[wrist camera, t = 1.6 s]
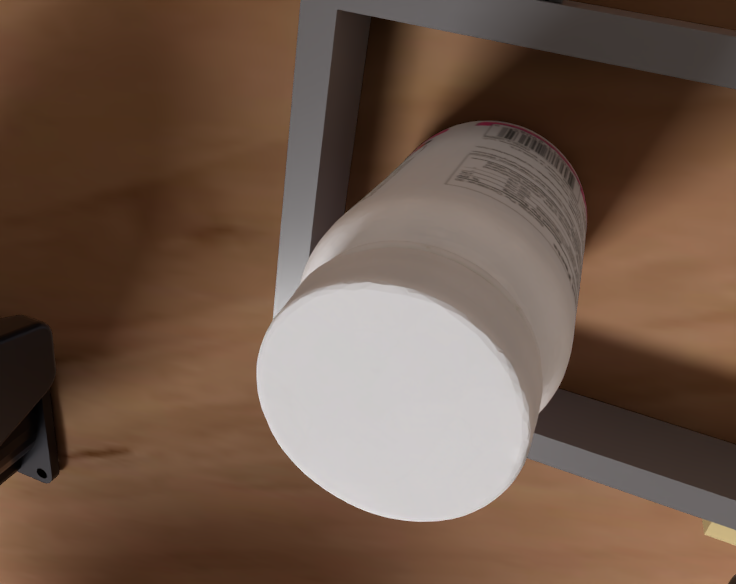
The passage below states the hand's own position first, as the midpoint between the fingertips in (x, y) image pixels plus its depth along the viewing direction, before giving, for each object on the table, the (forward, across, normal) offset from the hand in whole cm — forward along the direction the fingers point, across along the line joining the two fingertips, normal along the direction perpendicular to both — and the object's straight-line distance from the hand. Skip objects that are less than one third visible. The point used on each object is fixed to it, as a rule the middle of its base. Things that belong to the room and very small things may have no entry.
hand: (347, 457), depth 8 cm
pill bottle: (+10, 0, 0) cm, 10 cm away
